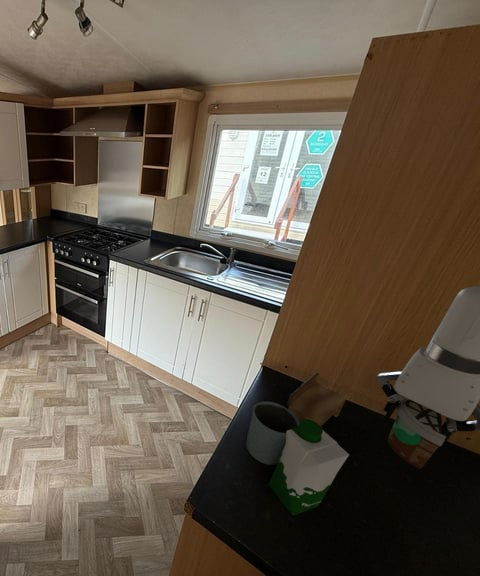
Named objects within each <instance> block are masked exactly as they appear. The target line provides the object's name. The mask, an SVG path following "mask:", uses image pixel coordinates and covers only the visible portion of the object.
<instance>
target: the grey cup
mask: <svg viewBox="0 0 480 576" xmlns="http://www.w3.org/2000/svg"><path fill="white" fill-rule="evenodd" d="M298 425H299V421H298V419H297V417H296V416H295V415H294V414H293V413H292V412H291V411H290V410H288V408H287V407H286V406H283V405H281V404H279V403H277V402H273V401H260V402H257V403H256V404H255V405H254V406H253V407H252V413H251V420H250V423H249V427H248V432H247V435H246V436H247V437H246V441H245V445H246V449H247V451H248V453H249V454H250V455H251V457H253V459H255V460H256V461H258V462H259V463H261V464H264V465H268V466H275V465H277V464H278V462H279V459H280V457H281V454H282V452H283V449H284V447H285V444H286V432H287V431H288V430H291V429H293V428H295V427H296V426H298Z"/></svg>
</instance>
